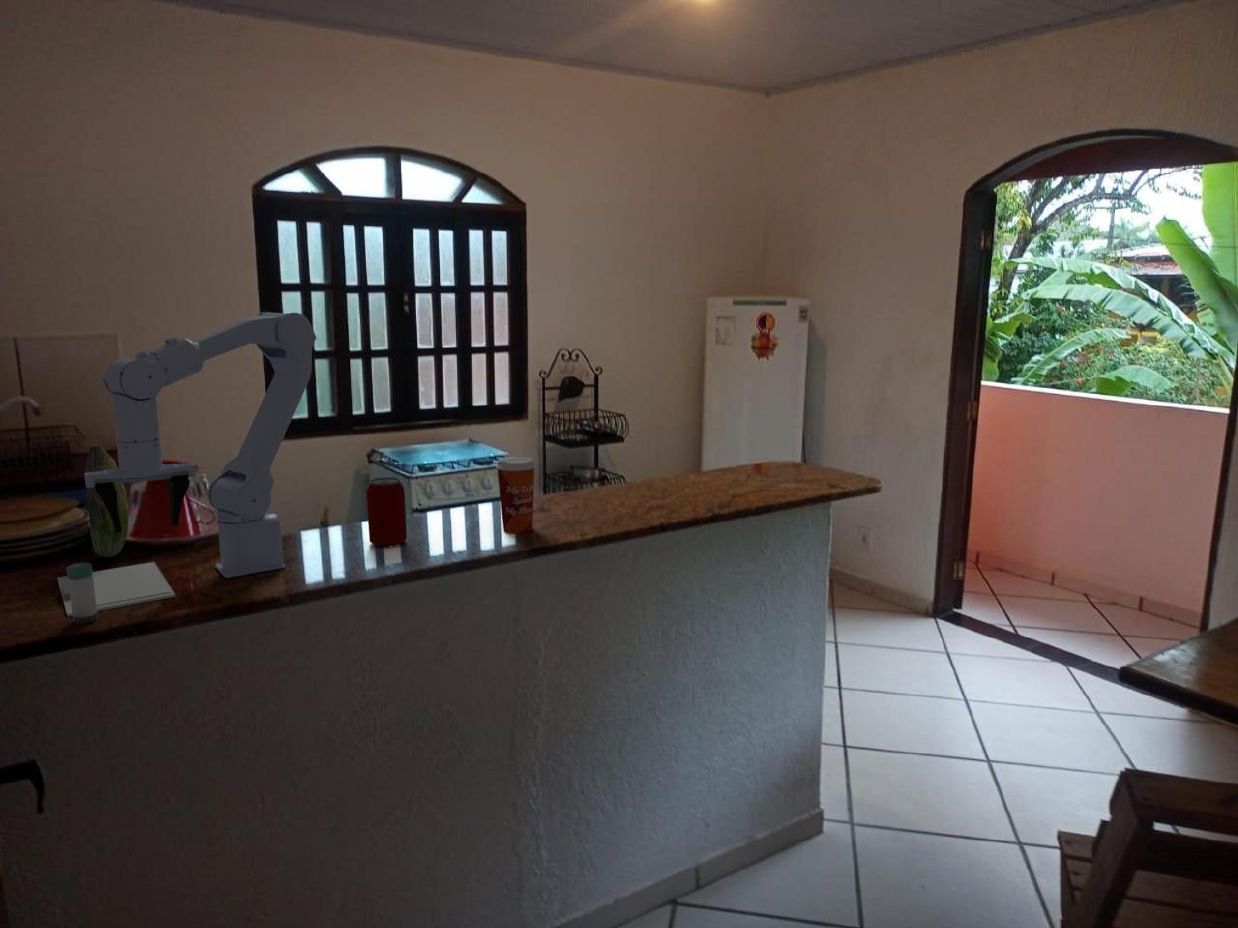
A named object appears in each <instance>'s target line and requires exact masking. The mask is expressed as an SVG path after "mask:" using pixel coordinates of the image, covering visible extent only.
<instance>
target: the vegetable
mask: <svg viewBox="0 0 1238 928" xmlns="http://www.w3.org/2000/svg"><path fill="white" fill-rule="evenodd" d="M85 462H86V463H85V468H84V473H89V472H97V471H104V470H111V469H118V468H119V467H118V466H117V464H116V461H115V460H114V459H113V458H112V457H111V456H110V454H108V452H107V451H106V450H105V448H104V447H103V446H102V445H100V444H99V445H98V444H93V445H92V446H90V447H89V448H88V453H87V457H86V461H85ZM114 486H115V489H116V491H117V502H118V514H119V519H120V524H121V533H116V532H115V531H114V526H113V522H112V519H111V517H110V514H109V512H108V510H107V508H106V506H105V504H104V502H103V500H102V499H101V497H100V496H99V494H98V493H97V491H96V490H95V488H94V487H90V488H87V487H86V486H85V490H86V491H85V492H86V493H85V494H86V504H87V512H88V521H89V531H90V539H91V544H92V547H93V550H94V552H95V553H96V554H98V556H100V557H103V558H112V557H114V556H116V555H118V554H119V553H120V552H121V551H122V549H123V548H124V545H125V543H126V540H127V538H128V537H127V536H128V531H129V521H130V520H129V517H130V516H129V501H128V495H127V491H126V488H125V483H121V484H114Z"/></svg>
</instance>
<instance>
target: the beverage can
mask: <svg viewBox="0 0 1238 928" xmlns="http://www.w3.org/2000/svg"><path fill="white" fill-rule="evenodd" d="M366 505H367V521H368V523H367V525H368V526H367V527H368V535H369V537H368V539H369V542H370V544H372V545H374V546H375V545H376V547H377V546H378V547H379V548H391V547H390V546H395V547H397V546H396V545H398V546H400V545H402V544H403V543H404V542H405V541H407V537H408V536H407V535H408V533H407V532H408V531H407V512H406V511H407V509H406V494H405V487H404V485H403V484H402V482H401V479H400V478H397V477H378V478H374V479H371V480H370V481H369V484H368V486H367V489H366ZM401 543H402V544H401ZM399 544H400V545H399ZM378 547H377V548H378Z"/></svg>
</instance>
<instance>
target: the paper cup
mask: <svg viewBox="0 0 1238 928" xmlns="http://www.w3.org/2000/svg"><path fill="white" fill-rule="evenodd" d="M536 467H537V465H536V464H535V460H534V459H533V458H531V457H526V456H510V457H509V456H508V457H503V458H500V459H498V460H497V465H495V469H497V477H498V488H499V489H498V490H499V500H500V510H501V520H502V530H503V532H504V533H506V534H509V535H510V534H511V535H512V534H513V535H518V534H519V535H521V534H527V533H529V532H532V529H533V518H534V517H533V516H534V515H533V514H534V511H533V510H534V492H535V491H534V488H535V487H534V485H535V468H536Z"/></svg>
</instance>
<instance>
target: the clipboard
mask: <svg viewBox="0 0 1238 928" xmlns="http://www.w3.org/2000/svg"><path fill="white" fill-rule="evenodd" d="M92 572H93V580H94V588H95V596H96V604H97V612H100V611H106V610H112V609H116V608H117V609H118V608H122V607H126V606H127V607H128V606H132V605H138V604H142V603H143V604H144V603H149V602H150V603H151V602H154V601H159V600H165V599H170V598H171V599H172V598H176V593H175V592H174V590H173V588H172V587H171V585H170V584H169V582H168V580H167V579H166V577H164V575H163V573H162V572H161V570H160V569H159V567H158V565H157V564H156V563H155V561H152V562H146V563H139V564H133V565H128V566H127V565H126V566H122V567H116V568H110V569H102V570H95V571H92ZM57 583H58V587H59V590H60V593H61V594H60V595H61V598H62V602H63V606H64V608H65V613H66V617H67V618H69V617H73V614H72V606H71V599H70V591H69V584H68V576H67V575H66V576H65V575H64V576H60V577H57Z"/></svg>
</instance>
